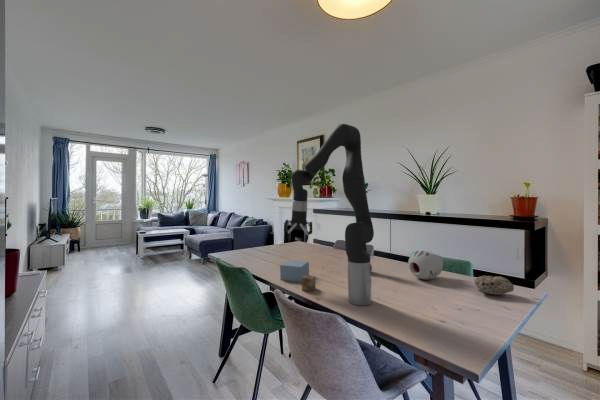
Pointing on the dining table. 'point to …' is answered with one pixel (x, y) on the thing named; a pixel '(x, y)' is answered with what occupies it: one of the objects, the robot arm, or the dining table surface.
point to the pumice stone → (493, 285)
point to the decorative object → (425, 264)
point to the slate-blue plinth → (294, 270)
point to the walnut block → (308, 283)
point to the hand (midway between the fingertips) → (297, 241)
